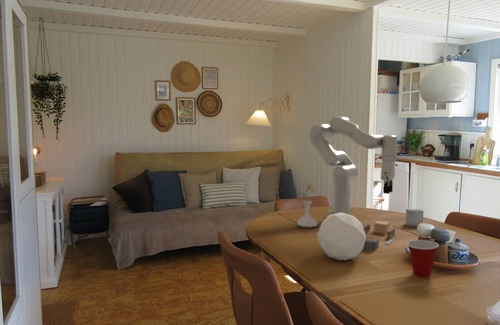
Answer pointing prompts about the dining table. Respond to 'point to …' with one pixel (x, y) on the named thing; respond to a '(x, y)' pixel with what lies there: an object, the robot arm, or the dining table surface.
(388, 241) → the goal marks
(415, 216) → the medicine box
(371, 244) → the trap bay
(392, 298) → the dining table surface
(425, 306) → the dining table surface
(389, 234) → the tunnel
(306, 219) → the flower in vase
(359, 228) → the ball
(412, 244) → the plastic cup
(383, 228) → the block
